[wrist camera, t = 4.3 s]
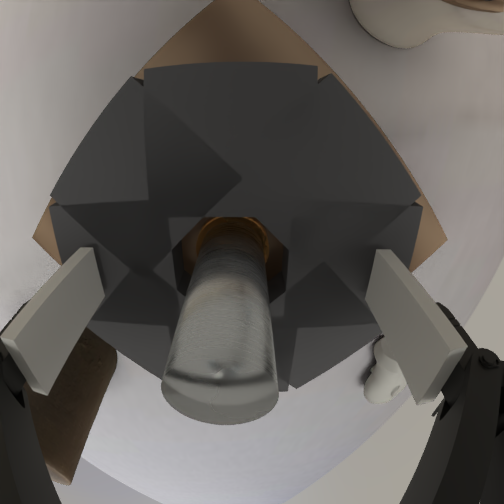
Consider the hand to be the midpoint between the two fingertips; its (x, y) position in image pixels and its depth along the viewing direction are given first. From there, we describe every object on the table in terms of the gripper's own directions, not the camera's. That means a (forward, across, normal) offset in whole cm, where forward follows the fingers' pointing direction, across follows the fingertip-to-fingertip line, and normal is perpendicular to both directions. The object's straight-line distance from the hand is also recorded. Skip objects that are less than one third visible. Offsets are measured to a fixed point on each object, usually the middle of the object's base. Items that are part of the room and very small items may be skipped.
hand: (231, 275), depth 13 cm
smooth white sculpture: (+7, +14, -14) cm, 21 cm away
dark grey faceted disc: (+2, 0, 0) cm, 2 cm away
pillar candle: (+7, -16, -12) cm, 21 cm away
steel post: (+5, 0, 0) cm, 5 cm away
